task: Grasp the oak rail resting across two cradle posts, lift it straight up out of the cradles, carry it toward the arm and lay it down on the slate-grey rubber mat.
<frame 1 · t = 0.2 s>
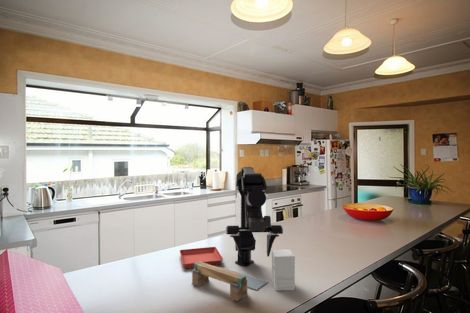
hand: (254, 256, 91), 15 cm above the kitchen island, tool pointing down, fingers open, 9 cm apart
post 2: (238, 296, 95), on the kitchen island
supplement box: (282, 286, 103), on the kitchen island
plant saucer: (200, 261, 127), on the kitchen island
post 1: (200, 282, 106), on the kitchen island
rail: (218, 277, 100), point 4 cm above the kitchen island, touching post 2, post 1
mat: (236, 278, 109), on the kitchen island
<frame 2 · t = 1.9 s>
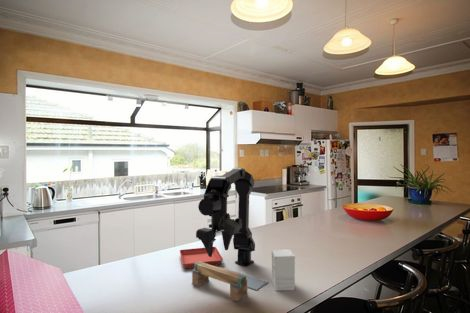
hand: (218, 253, 101), 13 cm above the kitchen island, tool pointing down, fingers open, 9 cm apart
nothing on the kitchen island moved.
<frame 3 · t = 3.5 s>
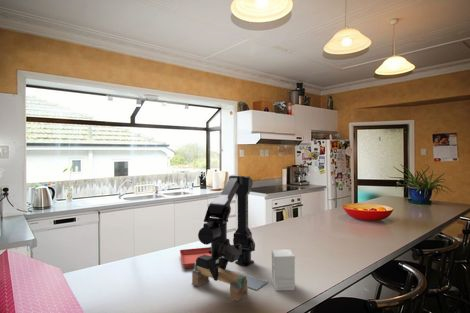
hand: (218, 278, 100), 4 cm above the kitchen island, tool pointing down, fingers closed on rail, 3 cm apart
rail: (218, 277, 100), point 4 cm above the kitchen island, touching gripper, post 2, post 1
everything else where it was.
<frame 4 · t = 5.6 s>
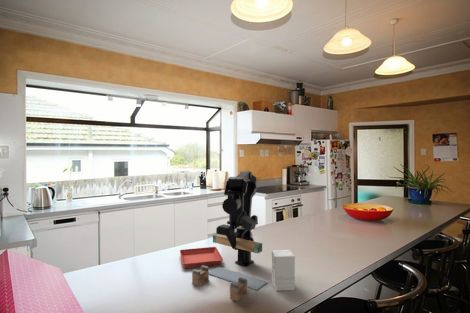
hand: (236, 247, 109), 12 cm above the kitchen island, tool pointing down, fingers closed on rail, 3 cm apart
rail: (236, 246, 109), point 13 cm above the kitchen island, touching gripper
everything else where it was.
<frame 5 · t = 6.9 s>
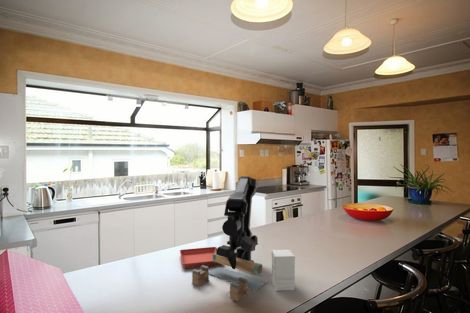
hand: (236, 267, 109), 4 cm above the kitchen island, tool pointing down, fingers closed on rail, 3 cm apart
rail: (236, 266, 109), point 5 cm above the kitchen island, touching gripper
everything else where it was.
when the fingers open (2 cm above the kitchen island, at t = 7.7 s): rail drops 2 cm, resting on mat.
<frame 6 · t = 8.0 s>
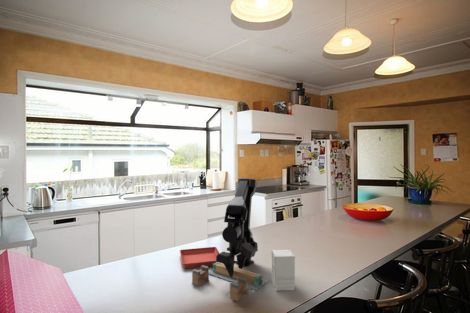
hand: (236, 274, 109), 2 cm above the kitchen island, tool pointing down, fingers open, 6 cm apart
rail: (236, 276, 109), resting on mat
everything else where it was.
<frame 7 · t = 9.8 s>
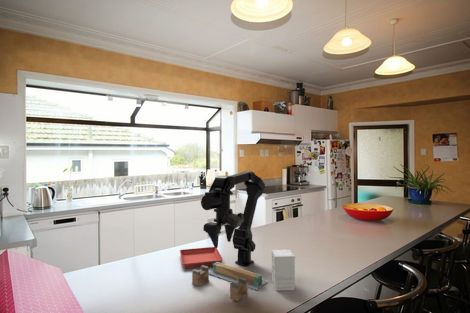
hand: (222, 244, 112), 12 cm above the kitchen island, tool pointing down, fingers open, 9 cm apart
nothing on the kitchen island moved.
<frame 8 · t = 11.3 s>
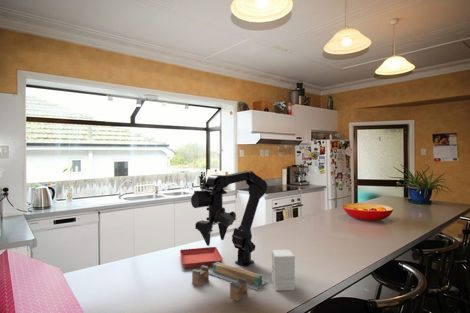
hand: (215, 242, 114), 12 cm above the kitchen island, tool pointing down, fingers open, 9 cm apart
nothing on the kitchen island moved.
at the end: rail inside the target area (0.1 cm from its centre), resting on mat; rail moved 11.6 cm from its start; the gripper is holding nothing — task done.
